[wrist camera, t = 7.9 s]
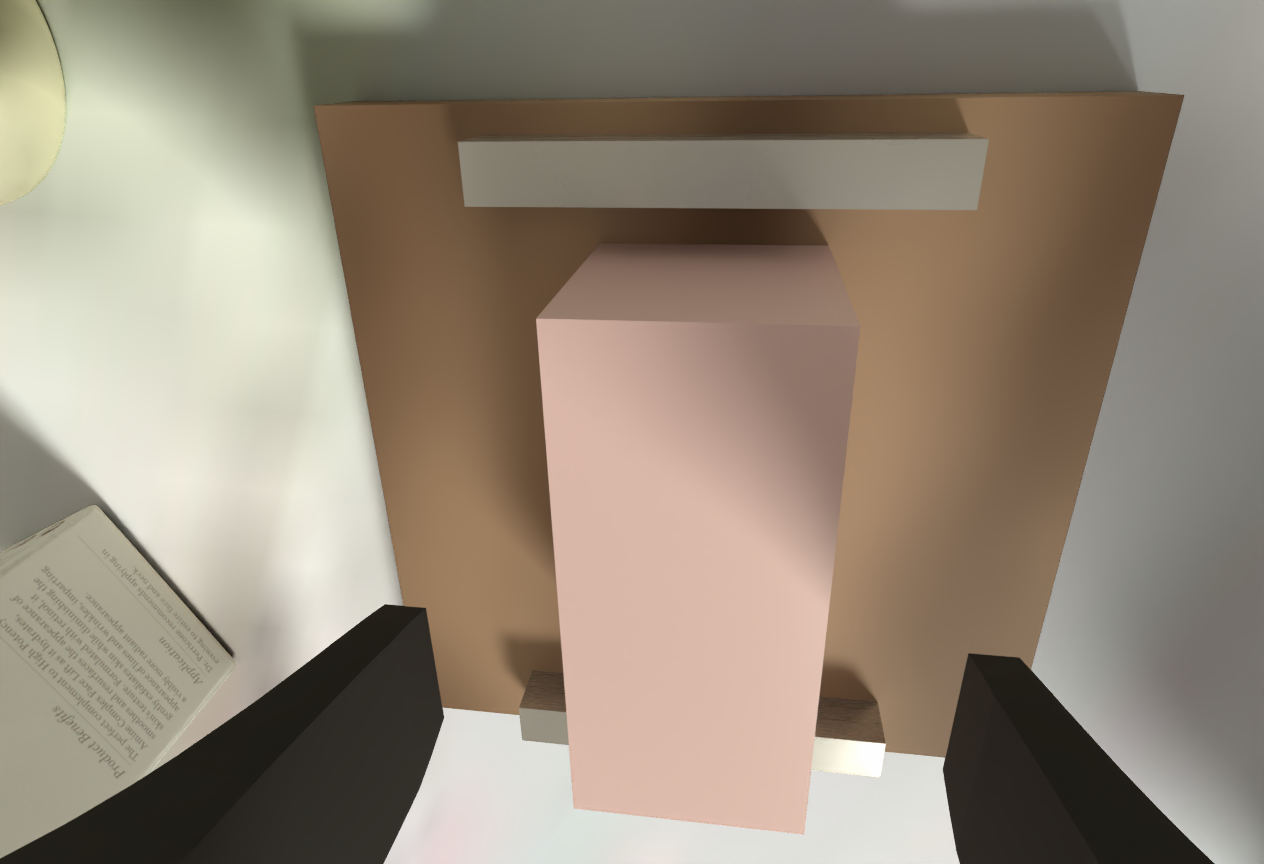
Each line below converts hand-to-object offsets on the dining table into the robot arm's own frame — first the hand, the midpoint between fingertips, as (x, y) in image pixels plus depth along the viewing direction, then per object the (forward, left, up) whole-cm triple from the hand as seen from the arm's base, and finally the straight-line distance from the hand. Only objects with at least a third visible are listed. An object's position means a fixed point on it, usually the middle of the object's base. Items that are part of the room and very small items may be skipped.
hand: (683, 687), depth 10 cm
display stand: (0, 0, -7) cm, 7 cm away
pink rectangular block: (0, 0, -6) cm, 6 cm away
